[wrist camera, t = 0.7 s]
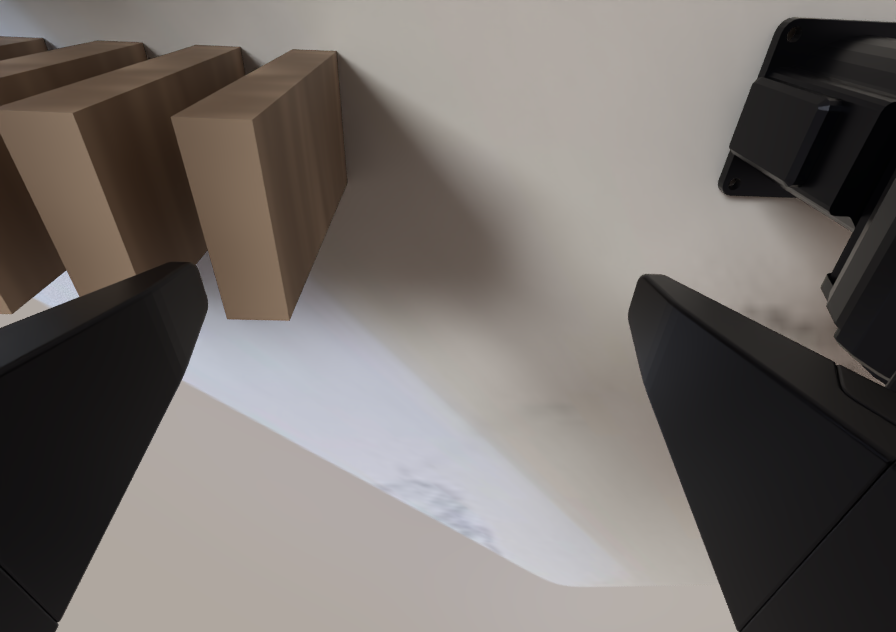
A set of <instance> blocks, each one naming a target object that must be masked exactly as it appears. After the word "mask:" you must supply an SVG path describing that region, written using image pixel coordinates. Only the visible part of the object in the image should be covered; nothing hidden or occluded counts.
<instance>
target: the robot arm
mask: <svg viewBox="0 0 896 632" xmlns="http://www.w3.org/2000/svg"><path fill="white" fill-rule="evenodd" d="M794 27H795V29H796V30H795V34H794V36H793V38H791V39H790V40H789V41H788V40H787V35H788V33H789V31H790V30H791V29H792V28H794ZM729 148H730V152H729V154H728V157H727V160H726V162H725V165H724V168H723V170H722V173H721V176H720V178H719V181H718V187H719V189H720V190H721V191H722V192H724V193H725V194H726V195H730V196H760V197H790V198H799V199H801V200H802V201H804V202H805V203H807V204H808V205H810V206H812V207H813V208H815V209H816V210H818V211H820V212H821V213H823V214H824V215H826V216H827V217H829V218H831V219H832V220H834V221H835V222H837V223H839V224H840V225H842V226H843V227H845V228H846V229H848V230H850V231H851V232H853V233H852V235H851V237H850V239H849V241H848V243H847V245H846V247H845V248H844V250H843V252H842V254H841V256H840V258H839V260H838V262H837V264H836V266H835V268H834V270H833V272H832V273H828V274H827V276H826V278H825V280H824V281H823V283H822V285H821V290H822V292H823V294H824V296H825V298H826V300H827V308H828V310H829V313H830V315H831V317H832V319H833V321H834V323H835V325H836V326H837V327H838V329H837V330H836V332H835V334H834V338H835V339H836V341H837V342H838V344H839V345H840V346H841V347H842V348H843V349H844V350H845V351H847V352H848V353H849V354H850V355H851V356H852V357H853V358H854V359H855V360H856V361H858V362H859V363H861V365H862V366H863V367H864V368H865V369H866V370H867V371H868V372H869V373H871V375H872V376H873V377H875V378H876V379H878V380H880V381H881V382H883V383H884V384H885V387H883V386H881V385H879V384H877V383H875V382H873V381H871V380H869V379H867V378H865V377H863V376H861V375H859V374H857V373H855V372H853V371H851V370H849V369H847V368H846V367H844V366H842V365H836V364H835V362H834V361H832V360H830V359H828V358H826V357H824V356H822V355H820V354H818V353H816V352H814V351H812V350H810V349H808V348H806V347H804V346H802V345H800V344H798V343H796V342H794V341H792V340H791V339H789V338H787V337H785V336H783V335H781V334H779V333H777V332H775V331H773V330H771V329H769V328H767V327H765V326H763V325H761V324H759V323H757V322H755V321H753V320H751V319H749V318H748V317H746V316H744V315H742V314H740V313H738V312H736V311H734V310H732V309H730V308H728V307H726V306H724V305H722V304H720V303H718V302H716V301H714V300H712V299H710V298H708V297H706V296H704V295H703V294H701V293H699V292H697V291H695V290H693V289H691V288H689V287H687V286H685V285H683V284H681V283H679V282H677V281H675V280H673V279H671V278H669V277H667V276H665V275H661V274H643V275H642V276H641V277H640V278H639V279H638V282H637V285H636V288H635V291H634V294H633V298H632V301H631V304H630V307H629V312H628V321H629V326H630V330H631V334H632V338H633V342H634V346H635V351H636V355H637V359H638V363H639V367H640V371H641V375H642V379H643V383H644V386H645V389H646V392H647V395H648V397H649V400H650V403H651V405H652V408H653V411H654V413H655V416H656V418H657V421H658V424H659V426H660V429H661V432H662V434H663V437H664V439H665V442H666V445H667V447H668V450H669V453H670V455H671V458H672V461H673V463H674V466H675V468H676V471H677V474H678V476H679V479H680V482H681V484H682V487H683V490H684V492H685V495H686V497H687V500H688V503H689V505H690V508H691V511H692V513H693V516H694V518H695V521H696V524H697V526H698V529H699V532H700V534H701V537H702V540H703V542H704V545H705V547H706V550H707V553H708V555H709V558H710V561H711V563H712V566H713V569H714V571H715V574H716V576H717V579H718V582H719V584H720V587H721V590H722V592H723V595H724V598H725V600H726V603H727V605H728V608H729V611H730V613H731V616H732V619H733V621H734V624H735V626H736V629H737V631H739V632H896V22H880V21H859V20H839V19H819V18H798V17H793V18H788V19H787V20H785V21H783V22H782V23H781V24H780V25H779V26H778V28H777V29H776V31H775V33H774V36H773V38H772V41H771V44H770V46H769V49H768V52H767V54H766V57H765V59H764V62H763V65H762V67H761V70H760V73H759V75H758V78H757V80H756V81H755V82H754V83H753V84H752V87H751V89H750V92H749V95H748V97H747V100H746V103H745V105H744V108H743V111H742V113H741V116H740V119H739V121H738V124H737V126H736V129H735V132H734V134H733V137H732V140H731V142H730V145H729ZM733 179H736V182H735V183H734V184H733V185H732V186H729V187H728V185H729V183H730V181H731V180H733ZM207 310H208V299H207V296H206V292H205V289H204V286H203V283H202V280H201V276H200V273H199V270H198V268H197V267H196V265H195V264H193V263H192V262H174V261H173V262H168V263H165V264H163V265H160V266H158V267H155V268H153V269H150V270H147V271H145V272H142V273H140V274H137V275H135V276H132V277H130V278H127V279H124V280H122V281H119V282H117V283H114V284H112V285H109V286H107V287H104V288H101V289H99V290H96V291H94V292H91V293H89V294H86V295H83V296H81V297H78V298H76V299H73V300H71V301H68V302H66V303H63V304H60V305H58V306H55V307H53V308H50V309H48V310H45V311H43V312H40V313H37V314H35V315H32V316H30V317H27V318H25V319H22V320H20V321H17V322H14V323H12V324H9V325H7V326H4V327H2V328H0V632H55V631H56V629H57V628H58V623H57V622H59V621H60V620H61V619H62V617H63V615H64V613H65V611H66V609H67V607H68V605H69V603H70V601H71V599H72V597H73V595H74V593H75V591H76V589H77V586H78V585H79V583H80V581H81V579H82V577H83V575H84V573H85V571H86V569H87V567H88V565H89V563H90V561H91V559H92V557H93V555H94V553H95V551H96V549H97V547H98V545H99V543H100V541H101V539H102V537H103V535H104V533H105V531H106V529H107V527H108V525H109V523H110V521H111V519H112V517H113V515H114V514H115V512H116V510H117V508H118V506H119V504H120V502H121V500H122V498H123V496H124V494H125V492H126V489H127V488H128V485H129V484H130V482H131V480H132V478H133V476H134V474H135V471H136V470H137V468H138V466H139V464H140V462H141V460H142V458H143V456H144V454H145V452H146V450H147V448H148V446H149V444H150V442H151V440H152V438H153V436H154V434H155V432H156V430H157V428H158V426H159V424H160V422H161V420H162V418H163V416H164V414H165V412H166V410H167V408H168V406H169V404H170V402H171V400H172V398H173V396H174V394H175V392H176V391H177V389H178V387H179V384H180V382H181V380H182V378H183V376H184V374H185V371H186V369H187V366H188V364H189V361H190V358H191V355H192V353H193V350H194V347H195V344H196V341H197V339H198V336H199V333H200V330H201V327H202V325H203V322H204V319H205V316H206V313H207Z"/></svg>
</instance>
